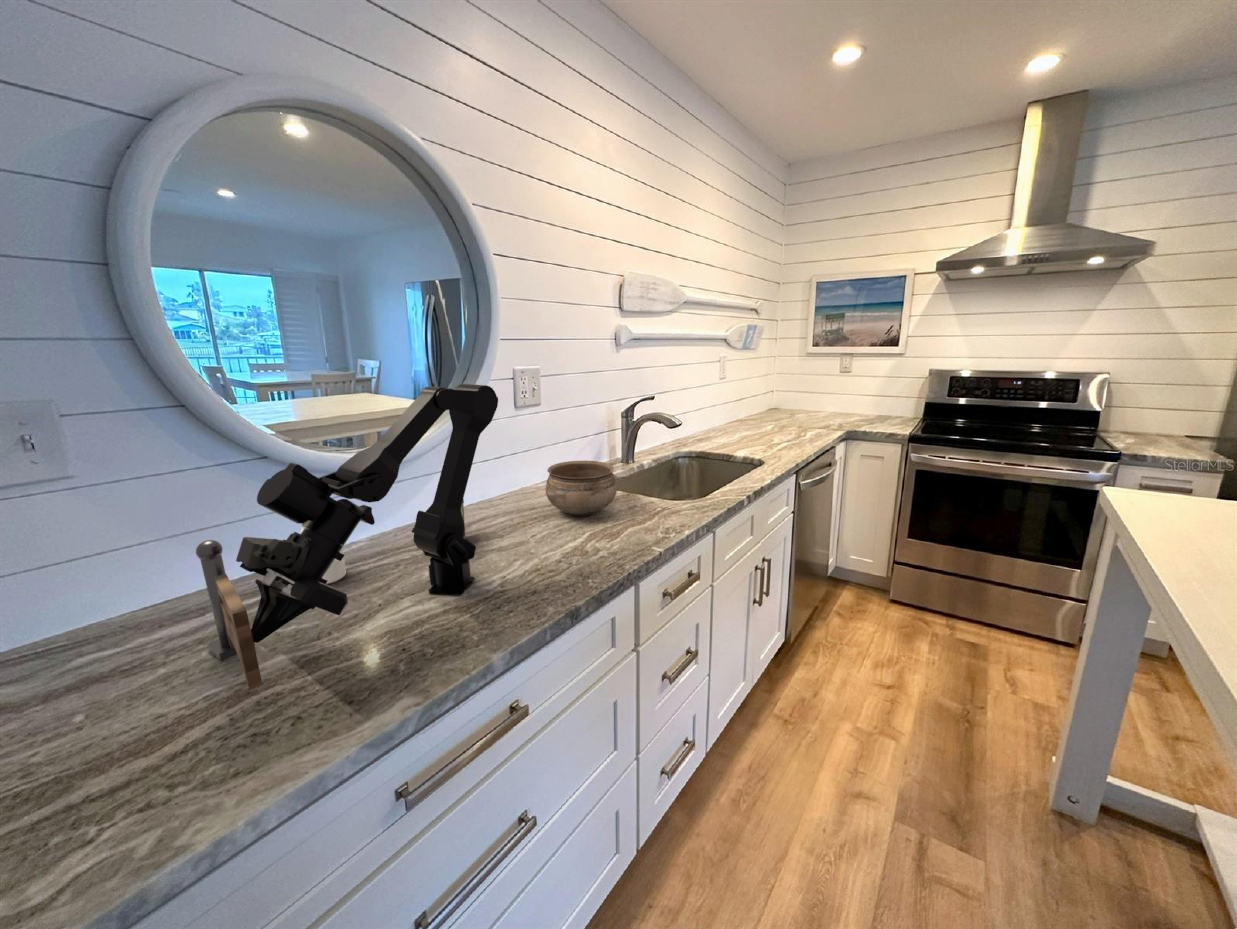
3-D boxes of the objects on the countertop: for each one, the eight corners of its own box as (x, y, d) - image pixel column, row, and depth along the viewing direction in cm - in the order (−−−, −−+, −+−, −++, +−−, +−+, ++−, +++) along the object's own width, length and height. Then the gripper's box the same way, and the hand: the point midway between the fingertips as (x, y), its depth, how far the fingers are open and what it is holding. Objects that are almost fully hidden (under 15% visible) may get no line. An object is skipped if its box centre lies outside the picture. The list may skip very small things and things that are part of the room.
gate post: (208, 651, 75) (182, 542, 71) (242, 636, 79) (219, 532, 74) (221, 661, 73) (194, 549, 68) (254, 645, 76) (231, 539, 72)
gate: (229, 644, 73) (213, 577, 71) (240, 640, 74) (225, 573, 72) (249, 689, 64) (232, 614, 61) (262, 684, 65) (246, 610, 62)
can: (330, 587, 94) (320, 528, 91) (300, 584, 95) (290, 526, 92) (354, 571, 100) (345, 516, 97) (326, 569, 101) (317, 514, 98)
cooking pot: (583, 494, 148) (582, 454, 145) (636, 506, 138) (636, 463, 135) (523, 519, 128) (520, 473, 125) (580, 535, 118) (579, 486, 115)
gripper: (243, 500, 71) (163, 602, 65) (309, 526, 61) (222, 649, 55) (309, 532, 80) (244, 626, 74) (377, 560, 70) (307, 671, 64)
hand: (252, 641), depth 66 cm, fingers closed, pressing on gate
